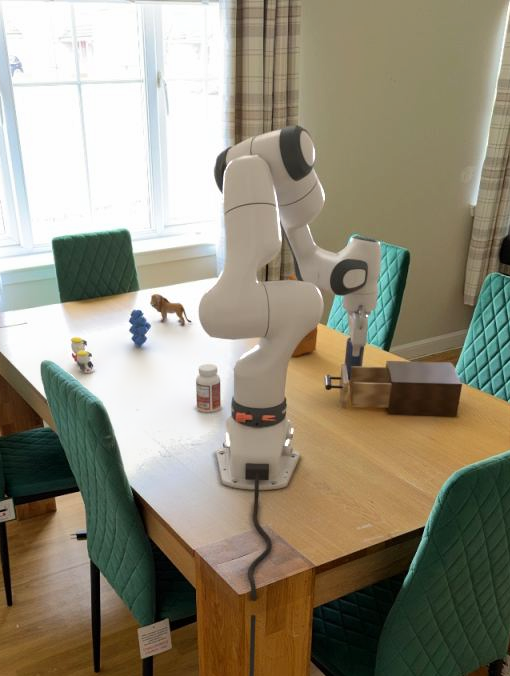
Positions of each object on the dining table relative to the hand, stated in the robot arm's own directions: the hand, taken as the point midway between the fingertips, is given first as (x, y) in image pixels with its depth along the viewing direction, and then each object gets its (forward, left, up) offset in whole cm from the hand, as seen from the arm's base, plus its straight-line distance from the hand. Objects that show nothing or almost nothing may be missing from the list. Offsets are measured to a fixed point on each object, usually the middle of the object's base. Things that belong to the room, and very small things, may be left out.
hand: (354, 351), depth 202 cm
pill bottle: (-22, +38, -9) cm, 45 cm away
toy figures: (+4, +78, -9) cm, 78 cm away
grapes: (+24, +64, -9) cm, 69 cm away
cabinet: (-15, -16, -8) cm, 24 cm away
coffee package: (+24, +16, -9) cm, 30 cm away
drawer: (-15, -2, -7) cm, 17 cm away
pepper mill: (0, 0, -8) cm, 8 cm away
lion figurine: (+49, +59, -9) cm, 77 cm away
